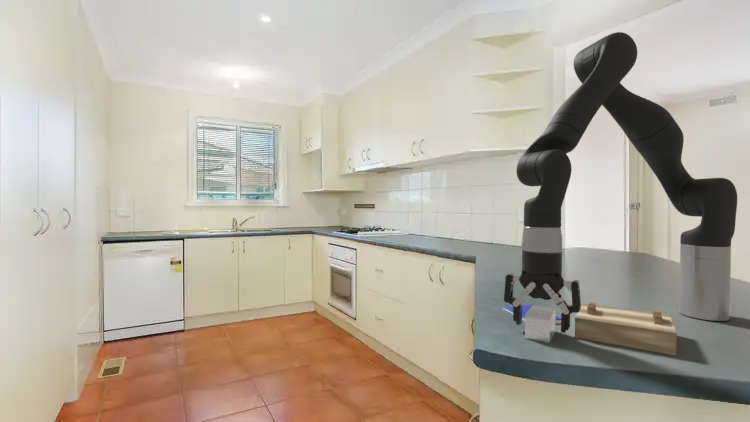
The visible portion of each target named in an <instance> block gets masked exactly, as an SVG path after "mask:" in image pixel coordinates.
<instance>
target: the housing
mask: <svg viewBox="0 0 750 422" xmlns="http://www.w3.org/2000/svg"><path fill="white" fill-rule="evenodd" d="M532 305H533V304H532ZM556 316H557V315H556V308H555V307H549V306H541V305H533V306H532V307H531V308H530V309H529V310H528V311H527V313H526V314H525V321H524V339H527V340H533V341H538V342H544V343H549V344H550V342H551V341H552V339H553V337H554V336H555V335H554V334H555V333H556V324H555V319H556Z"/></svg>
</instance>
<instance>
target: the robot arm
mask: <svg viewBox="0 0 750 422" xmlns="http://www.w3.org/2000/svg"><path fill="white" fill-rule="evenodd" d="M574 56H575V57H574V59H573V70H574V72H575V74H576V77H577V79H578V80H579V81H580V82H581V85H580V86H578V88H577V89H576V90H575V91H574V92H573V93H572V94H570V96H569V97H568V98H567V99H566V100H565V101H564V102H563V103H562V104H561V105H560V106H559V108H558V109H557V110H556V112H555V113H554V115H553V117H552V118H551V120H550V121H549V123H548V125H547V126H546V128H545V130H544V132H543V133H541V135H540V136H538V137H537V138H536V139H535V140H534V141H533V142H532V143H531V144H530V145H529V147H527V149H526V150H525V151H524V152H523V153H522V155H521V156H520V158H519V159H518V162H517V165H516V176H517V179H518V181H519V182H520V183H521V184H522V185H524V186H527V187H540V188H539V191H538V193H537V195H536V196H534V197H531V198H528V199H527V200H526V201H525V202H524V207H523V229H522V230H523V231H522V238H521V272H520V273H521V274H520V275H517V274H513V273H512V272H510V273H508V274H506V275H505V279H504V280H505V281H504V293H503V301H504V302H505V303H506V304H507V303H508V304H511V306H512V305H513V315H512V318H513V322H514V323H515V324H516V325H517V326H520V325H522V323H523V320H522V306H521V305H522V303H523V301H525V300H526V299H527V298H528V297H531V298H532V299H541V300H543V301H550V300H552V301H553V303H554V304H555V305H556V306H557V307H558V309H560V311H561V314H560V318H561V323H560V332H561V333H563V334H566V332H567V331H569V329H570V327H571V314H573V313H576V314H577V313H578V312H579V311H580V309H581V305H582V303H581V302H582V301H581V300H582V299H581V284H580V281H579V280H578V279H573V280H565V279H564V278H563V275H562V274H563V272H562V271H563V234H562V206H563V203H564V200H565V197H566V193H567V191H568V187H569V184H570V180H571V176H572V171H573V169H572V162H571V159H570V158H569V155H568V154H569V153H571V152H572V151H574V149H575V148H576V147H577V146H578V145H579V143H580V141H581V139H582V137H583V135H584V134H585V132H586V130H587V128H588V126H589V125H590V124H591V122H592V120H593V118H594V117H595V116H596V114H597V113H598V111H599V109H600V108H602V106H603V108H604V109H605V110H606V111H607V112H608V113H609V115H610V116H611V117H612V119H613V120H614V121H615V122H616V123H617V125H618V126H619V127H620V128H621V130H622V131H623V133H624V134H625V136H626V137H627V139H628V140H629V141H630V142H631V144H632V145H633V146H634V148H635V150H636V151H637V152H638V153H639V155H641V157H642V158H643V159H644V161H645V162H646V163H647V165H648V167H649V168H650V169H651V171H652V172H653V174H654V175H655V176H656V178H657V180H658V181H659V182H660V185H661V187H662V188H663V190H664V192H665V194H666V196H667V197H668V199H669V201H670V202H671V204H672V206H673V207H674V209H676V211H677V212H678V213H680V214H681V215H684V216H687V217H701V220H700V223H699V224H698V225H697V226H696V227H694V228H692V229H689V230H685V231H683V232H682V233H680V247H679V248H680V250H679V251H680V252H679V254H680V256H679V258H680V260H679V264H680V265H679V296H678V297H679V299H678V300H679V302H678V303H679V304H678V307H679V309H678V311H679V314H681V315H683V316H686V317H689V318H690V317H691V318H694V319H698V320H705V321H714V322H715V321H716V322H725V321H730V317H731V316H730V313H731V311H730V307H731V274H732V272H731V269H732V267H731V265H732V264H731V263H732V262H731V261H732V258H731V257H732V239H733V237H734V234H735V231H736V220H737V218H736V217H737V211H738V210H737V208H738V192H737V189H736V186H735V184H734V183H733V182H732V181H731V180H730V179H728V178H724V177H710V178H707V177H706V178H694V177H692V175H690V174H689V172H688V171H687V170H686V168H685V166H684V165H683V162H682V156H683V155H682V154H683V149H684V141H685V140H684V139H685V138H684V137H685V136H684V133H683V131H682V129H681V127H680V126H679V124H678V123H677V121H676V119H674V117H673V116H672V114H671V113H670V112H669V111H668V110H667V109H666V108H665V107H663V106H662V105H660V104H658V103H657V102H654V101H652V100H650V99H647V98H645V97H642V96H640V95H638V94H636V93H633V92H632V91H631V90H629V89H627V88H626V87H625V86H624V85H622V80H624V78H625V77H626V76H627V75H628V74H629V73H630V71H631V70H632V68H633V67H634V66H635V64H636V61H637V58H638V47H637V43H636V42H635V40H634V38H632V36H631V35H629V34H627V33H626V32H621V31H618V32H613V33H610V34H607V35H606V36H604V37H602V38H600V39H598V40H596V41H595V42H593V43H591V44H590V45H588V46H586V47H584V48H583V49H581V50H580V51H578V53H577V54H576V55H574ZM518 282H519V283H520V285H521V286H522V287H523V291H521V293H519V294H518V296H517V297H514V286H515V285H517V284H518ZM564 287H566V288H567V291H568V292H570V293H571V305H570V304H569V303H568V302H567V301H566V299H565V298H564V296H563V295H562V293H561V292H560V291H561V290H562V289H563V288H564Z"/></svg>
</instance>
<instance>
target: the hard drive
mask: <svg viewBox="0 0 750 422" xmlns="http://www.w3.org/2000/svg"><path fill="white" fill-rule="evenodd" d="M521 306H522V321H524V322H525V314H526V313H527V311H528V310H529V309H530V308H531V307H532V306H533V304H521ZM504 309H505V310H506V311H508V312H510V313H512V314H513V305H512V304H511V305H504V306H503V310H504ZM505 310H504V311H505ZM506 311H505V312H506ZM508 312H507V313H508ZM510 313H509V314H510ZM512 314H511V315H512ZM557 324H560V325H561V316H557V315H556V319H555V325H557Z"/></svg>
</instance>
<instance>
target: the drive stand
mask: <svg viewBox="0 0 750 422" xmlns="http://www.w3.org/2000/svg"><path fill="white" fill-rule="evenodd" d="M677 334H678V333H677V331H676V328H675V325H674V323H673V320H672V317H671V314H668V313H662V312H661V310H656V309H652V312H651V311H645V310H638V309H631V308H630V309H629V308H623V307H615V306H607V305H602V304H601V305H600V304H597V302H595V301H589V302H588V303H585V302H582V303H581V309H580V311H579V312H578V313H576V315H575V317H574V338H575V339H582V340H587V341H592V342H597V343H598V342H599V343H602V344H603V343H604V344H610V345H614V346H620V347H621V346H622V347H626V348H632V349H636V350H637V349H638V350H642V351H643V350H644V351H648V352H654V353H659V354H665V355H671V356H677Z"/></svg>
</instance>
